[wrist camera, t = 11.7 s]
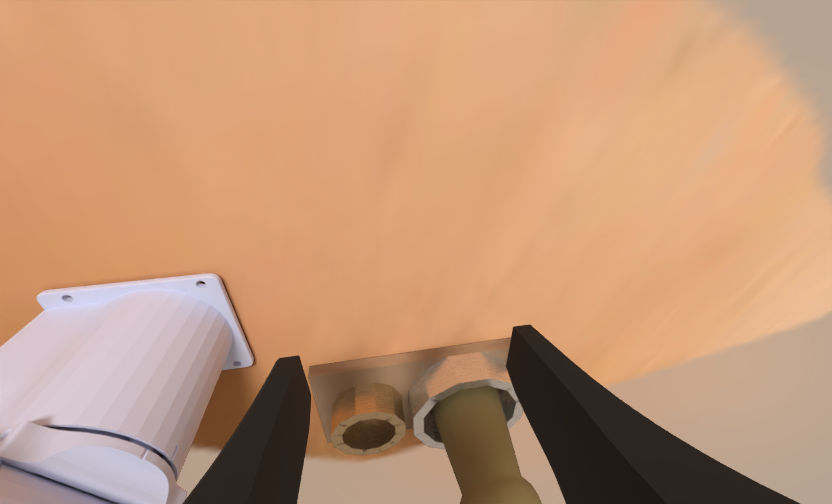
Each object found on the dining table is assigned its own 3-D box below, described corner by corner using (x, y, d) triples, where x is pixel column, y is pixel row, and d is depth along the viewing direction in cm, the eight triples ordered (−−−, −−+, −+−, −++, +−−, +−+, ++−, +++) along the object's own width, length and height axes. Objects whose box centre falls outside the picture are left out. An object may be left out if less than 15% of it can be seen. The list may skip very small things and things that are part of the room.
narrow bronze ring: (338, 429, 28) (337, 460, 26) (328, 389, 25) (326, 419, 23) (402, 418, 29) (406, 447, 27) (400, 378, 26) (404, 407, 24)
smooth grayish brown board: (328, 431, 30) (327, 442, 29) (309, 366, 25) (308, 377, 24) (505, 401, 32) (509, 411, 31) (518, 336, 27) (524, 345, 26)
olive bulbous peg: (495, 397, 30) (560, 555, 20) (431, 415, 29) (467, 582, 20) (492, 354, 26) (567, 518, 17) (419, 373, 26) (456, 550, 17)
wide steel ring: (410, 428, 30) (414, 457, 28) (407, 362, 25) (412, 390, 23) (504, 412, 31) (515, 438, 29) (519, 345, 26) (533, 371, 24)
